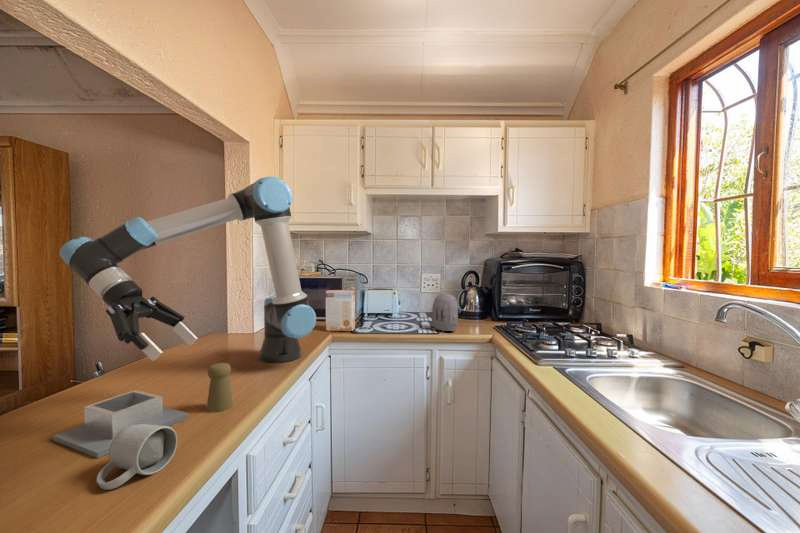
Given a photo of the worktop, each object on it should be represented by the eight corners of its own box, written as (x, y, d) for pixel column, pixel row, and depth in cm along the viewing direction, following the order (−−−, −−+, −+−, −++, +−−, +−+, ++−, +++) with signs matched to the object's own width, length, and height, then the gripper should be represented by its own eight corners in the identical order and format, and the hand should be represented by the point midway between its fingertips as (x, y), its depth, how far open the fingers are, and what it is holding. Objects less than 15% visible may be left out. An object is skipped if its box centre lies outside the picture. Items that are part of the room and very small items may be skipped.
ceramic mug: (146, 451, 67) (145, 413, 67) (179, 458, 65) (177, 419, 65) (83, 487, 57) (81, 442, 57) (119, 497, 55) (117, 451, 54)
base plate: (145, 405, 88) (145, 401, 88) (188, 417, 82) (188, 413, 82) (52, 440, 71) (52, 435, 71) (97, 458, 65) (97, 453, 65)
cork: (208, 403, 89) (208, 361, 89) (234, 400, 91) (234, 359, 91) (204, 413, 83) (203, 369, 83) (231, 410, 85) (231, 366, 85)
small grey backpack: (460, 332, 174) (461, 293, 174) (450, 335, 168) (451, 294, 168) (437, 327, 185) (438, 291, 184) (427, 330, 179) (427, 292, 179)
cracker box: (355, 330, 178) (355, 290, 178) (352, 332, 172) (352, 291, 172) (329, 329, 180) (329, 289, 179) (325, 331, 174) (325, 290, 173)
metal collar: (135, 410, 83) (135, 389, 83) (162, 417, 79) (162, 396, 79) (84, 429, 74) (84, 406, 73) (112, 439, 70) (112, 415, 70)
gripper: (144, 294, 99) (196, 346, 99) (57, 306, 74) (127, 376, 74) (162, 276, 99) (214, 328, 99) (81, 282, 74) (151, 352, 74)
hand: (177, 348), depth 87 cm, fingers open, 13 cm apart
